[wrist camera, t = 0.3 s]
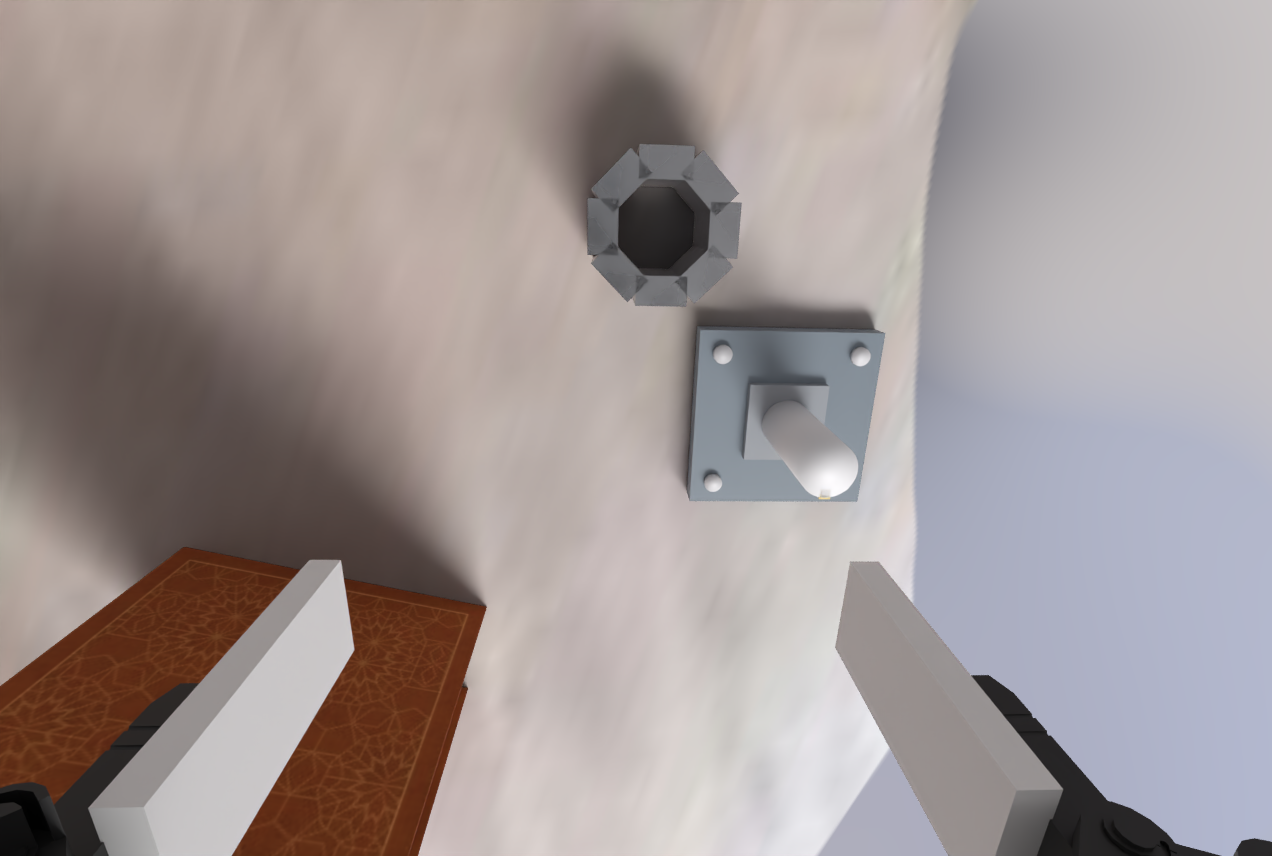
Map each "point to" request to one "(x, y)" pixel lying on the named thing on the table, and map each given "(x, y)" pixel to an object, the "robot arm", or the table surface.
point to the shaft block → (781, 413)
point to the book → (333, 743)
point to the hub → (710, 231)
